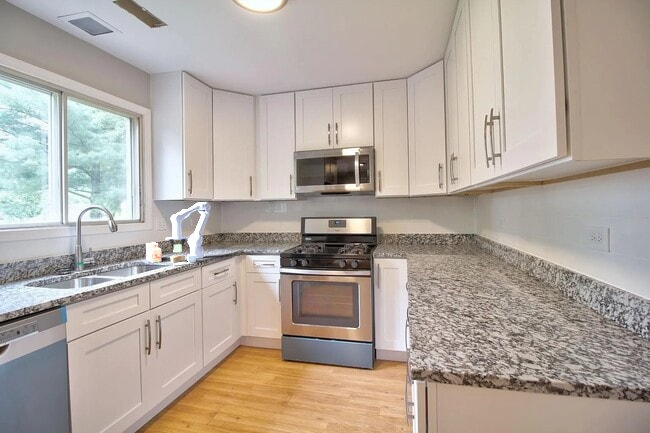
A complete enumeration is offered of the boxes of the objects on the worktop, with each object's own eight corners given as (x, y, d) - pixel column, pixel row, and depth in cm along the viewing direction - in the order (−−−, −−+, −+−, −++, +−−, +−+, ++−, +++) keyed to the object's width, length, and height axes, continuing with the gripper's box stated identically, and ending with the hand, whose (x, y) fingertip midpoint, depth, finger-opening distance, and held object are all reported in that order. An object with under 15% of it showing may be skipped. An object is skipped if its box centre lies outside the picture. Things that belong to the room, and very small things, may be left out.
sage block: (181, 251, 217) (180, 244, 217) (181, 251, 213) (181, 244, 213) (173, 251, 215) (173, 244, 215) (174, 252, 210) (173, 245, 210)
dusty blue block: (194, 261, 214) (194, 254, 214) (196, 262, 210) (195, 255, 210) (187, 261, 212) (187, 254, 211) (188, 263, 207) (188, 255, 207)
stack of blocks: (161, 262, 212) (161, 244, 212) (151, 263, 208) (151, 245, 208) (155, 258, 229) (155, 242, 228) (146, 259, 225) (145, 243, 224)
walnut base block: (182, 260, 220) (182, 254, 220) (185, 261, 214) (185, 256, 213) (170, 261, 215) (170, 256, 215) (173, 263, 208) (172, 257, 208)
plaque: (187, 262, 207) (187, 261, 207) (189, 264, 200) (189, 263, 200) (173, 264, 203) (173, 263, 203) (174, 266, 195) (174, 265, 195)
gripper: (166, 231, 206) (166, 251, 207) (188, 230, 214) (189, 249, 214) (165, 231, 212) (165, 250, 213) (187, 230, 220) (187, 248, 220)
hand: (177, 249), depth 214 cm, fingers closed on sage block, 5 cm apart
